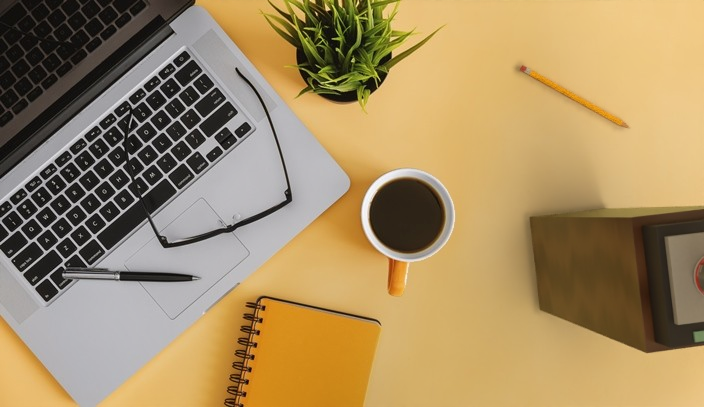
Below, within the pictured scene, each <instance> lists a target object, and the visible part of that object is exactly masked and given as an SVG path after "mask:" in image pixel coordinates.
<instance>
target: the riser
mask: <svg viewBox="0 0 704 407" xmlns="http://www.w3.org/2000/svg"><path fill="white" fill-rule="evenodd" d="M697 219H704V205H682V206H681V205H680V206H641V207H607V208H597V209H586V210H579V211H578V210H577V211H570V212H562V213H552V214H544V215H543V214H542V215H534V216H529V225H530V234H531V242H532V251H533V259H534V269H535V278H536V287H537V295H538V303H539V310H540V311H541V312H544V313H546V314H549V315H551V316H554V317H556V318H559V319H561V320H564V321H566V322H568V323H571V324H573V325H576V326H578V327H580V328H583V329H586V330H588V331H591V332H593V333H596V334H598V335H601V336H603V337H605V338H608V339H610V340H613V341H616V342H617V343H621V344H623V345H625V346H628V347H630V348H633V349H635V350H638V351H640V352H642V353H645V354H652V353H659V352H667V351H674V350H682V349H688V348H695V347H696V348H697V347H703V346H704V343H703V344H695V345H688V346H681V347H673V348H669V347H667V346H664V345H661V344H658V343H656V342H655V337H654V328H653V319H652V311H651V302H650V294H649V285H648V277H647V268H646V259H645V251H644V242H643V234H642V226H645V225H654V224H662V223H671V222H680V221H688V220H697Z"/></svg>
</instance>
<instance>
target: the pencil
mask: <svg viewBox="0 0 704 407" xmlns="http://www.w3.org/2000/svg"><path fill="white" fill-rule="evenodd" d="M519 70H520V71H522V72H524V73H525V74H527V75H528V76H531V77H532V78H534V79H536V80H538V81H540V82H541V83H543V84H545V85H547V86H549V87H550V88H552V89H553V90H556V91H557V92H559V93H561V94H563V95H565V96H566V97H568V98H570V99H572V100H574V101H575V102H577V103H579V104H581V105H582V106H585V107H586V108H588V109H590V110H591V111H593V112H594V113H597V114H598V115H600V116H603V117H604V118H606V119H608V120H609V121H611V122H613V123H615V124H616V125H619V126H620V127H624V128H628V129H631V127H630V126H629V125H628V124H627V123H626V122H625V121H623V119H621V118H619V117H617V116H615V115H613V114H611V113H609V112H608V111H606V110H604V109H602V108H601V107H599V106H597V105H596V104H594V103H592V102H590V101H587V99H584V98H582V97H581V96H579V95H577V94H575V93H574V92H572V91H570V90H568V89H566V88H565V87H563V86H561V85H559V84H557V83H556V82H554V81H552V80H551V79H548V78H547V77H545V76H543V75H541V74H540V73H537V72H536V71H534V70H532V69H531V68H529V67H527V66H525V65H521V66H520V69H519Z"/></svg>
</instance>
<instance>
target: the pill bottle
mask: <svg viewBox="0 0 704 407" xmlns="http://www.w3.org/2000/svg"><path fill="white" fill-rule="evenodd" d="M693 278H694V283H695V286H696V288H697V289H698V291H699V292H700V293H701V294H702V295H703V296H704V256H703V257H702V258H701V259H700V260H699V261H698V262H697V264H696V266H695V268H694V274H693Z"/></svg>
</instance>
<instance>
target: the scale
mask: <svg viewBox="0 0 704 407" xmlns="http://www.w3.org/2000/svg"><path fill="white" fill-rule="evenodd" d="M642 234H643V242H644V251H645V259H646V268H647V277H648V285H649V294H650V302H651V311H652V319H653V328H654V337H655V342H656V343H658V344H661V345H664V346H667V347H669V348H673V347H681V346H688V345H695V344H703V343H704V296H703V295H702V294H701V293H700V292H699V291H698V289H697V288H696V286H695V283H694V278H693V274H694V268H695V266H696V264H697V262H698V261H699V260H700V259H701V258H702V257H703V256H704V219H697V220H688V221H680V222H671V223H662V224H654V225H645V226H642Z"/></svg>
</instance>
